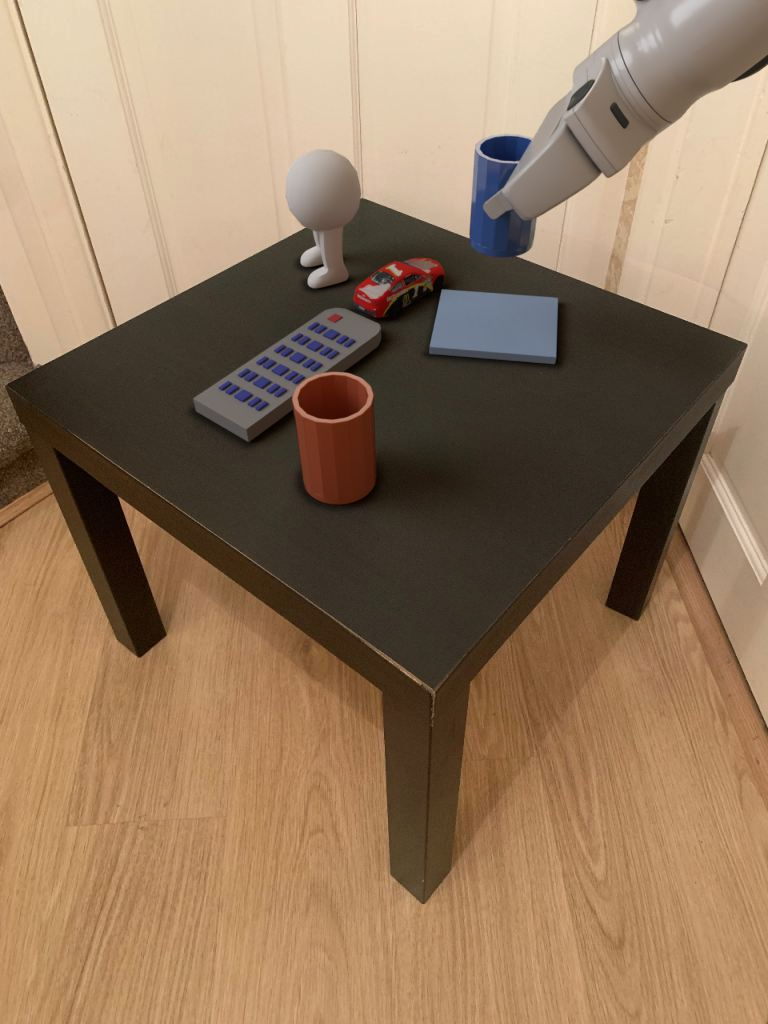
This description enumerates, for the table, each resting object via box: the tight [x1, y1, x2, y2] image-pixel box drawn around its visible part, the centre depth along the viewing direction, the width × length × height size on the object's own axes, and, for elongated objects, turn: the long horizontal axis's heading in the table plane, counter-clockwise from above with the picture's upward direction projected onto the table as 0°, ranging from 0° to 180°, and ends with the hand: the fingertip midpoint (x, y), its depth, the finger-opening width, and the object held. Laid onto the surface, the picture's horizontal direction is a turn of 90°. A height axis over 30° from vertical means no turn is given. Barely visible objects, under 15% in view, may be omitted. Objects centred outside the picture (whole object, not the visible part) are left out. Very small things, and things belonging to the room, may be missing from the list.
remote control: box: [192, 307, 382, 443], centre depth 87 cm, size 8×23×2 cm, turn 141°
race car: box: [352, 257, 446, 318], centre depth 96 cm, size 13×5×4 cm, turn 134°
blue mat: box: [428, 288, 559, 365], centre depth 92 cm, size 14×12×1 cm
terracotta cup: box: [292, 371, 378, 506], centre depth 72 cm, size 7×7×10 cm
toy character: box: [285, 148, 362, 289], centre depth 96 cm, size 9×9×15 cm
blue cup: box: [468, 133, 538, 259], centre depth 79 cm, size 7×7×10 cm
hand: (499, 192), depth 78 cm, fingers closed on blue cup, 7 cm apart
